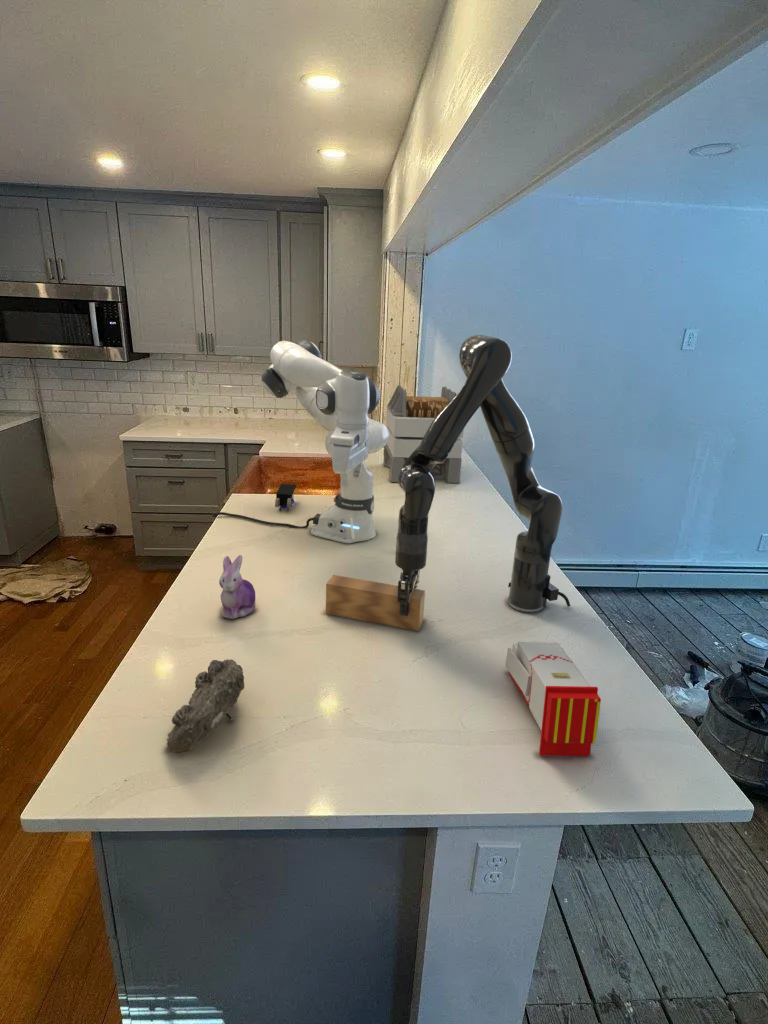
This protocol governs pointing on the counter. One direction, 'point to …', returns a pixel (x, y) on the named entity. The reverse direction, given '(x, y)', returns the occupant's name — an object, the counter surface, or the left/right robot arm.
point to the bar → (372, 602)
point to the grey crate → (417, 431)
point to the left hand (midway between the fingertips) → (351, 481)
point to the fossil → (206, 705)
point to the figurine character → (285, 496)
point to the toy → (556, 697)
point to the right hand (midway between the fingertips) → (407, 607)
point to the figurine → (235, 590)
